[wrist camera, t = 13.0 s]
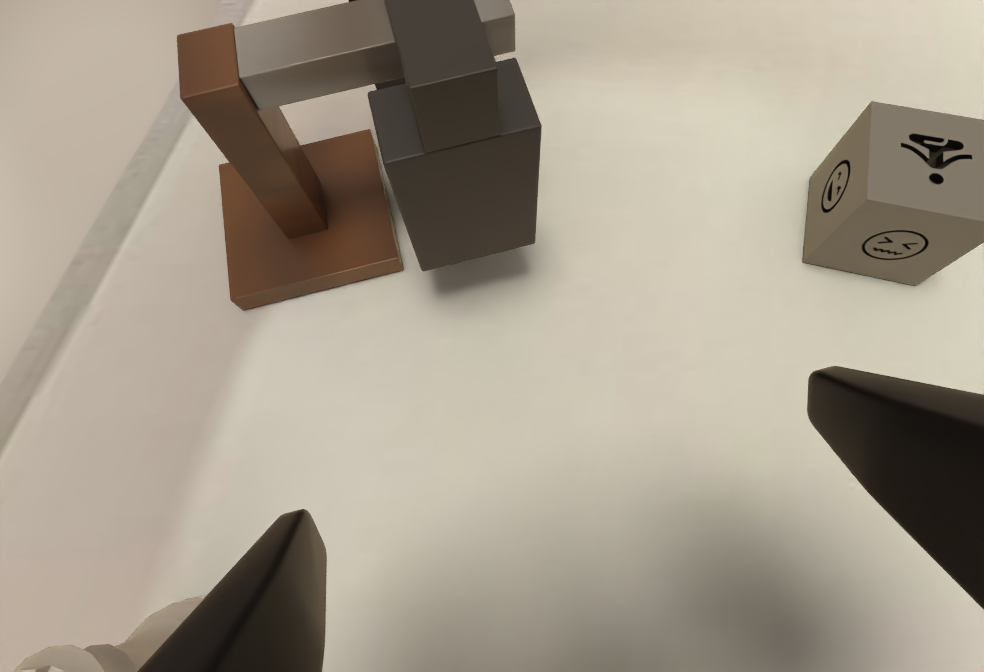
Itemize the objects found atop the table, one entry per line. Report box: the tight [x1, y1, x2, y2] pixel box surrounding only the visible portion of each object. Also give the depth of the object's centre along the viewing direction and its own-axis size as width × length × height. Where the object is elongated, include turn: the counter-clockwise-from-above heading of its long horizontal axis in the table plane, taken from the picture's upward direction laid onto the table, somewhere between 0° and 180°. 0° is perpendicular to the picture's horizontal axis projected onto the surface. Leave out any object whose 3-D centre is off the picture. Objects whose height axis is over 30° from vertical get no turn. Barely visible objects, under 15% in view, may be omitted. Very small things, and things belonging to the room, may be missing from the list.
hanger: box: [177, 0, 515, 310], centre depth 23 cm, size 14×8×10 cm, turn 105°
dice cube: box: [803, 101, 984, 286], centre depth 23 cm, size 5×5×5 cm
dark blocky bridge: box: [349, 0, 541, 271], centre depth 20 cm, size 12×5×10 cm, turn 15°
